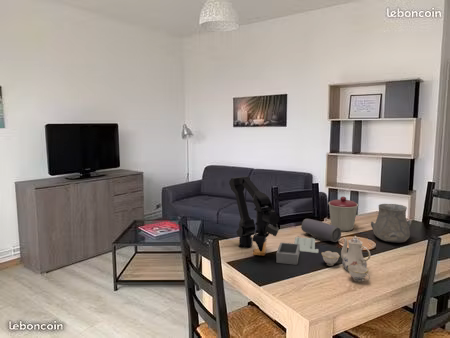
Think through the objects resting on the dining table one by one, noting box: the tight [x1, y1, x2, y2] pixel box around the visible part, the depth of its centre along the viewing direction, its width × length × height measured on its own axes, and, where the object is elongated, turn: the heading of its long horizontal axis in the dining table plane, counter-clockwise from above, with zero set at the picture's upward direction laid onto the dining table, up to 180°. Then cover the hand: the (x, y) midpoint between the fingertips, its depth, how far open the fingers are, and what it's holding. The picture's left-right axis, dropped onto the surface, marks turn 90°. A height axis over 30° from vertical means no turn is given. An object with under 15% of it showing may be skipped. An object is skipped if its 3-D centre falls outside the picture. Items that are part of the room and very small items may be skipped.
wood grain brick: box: [252, 240, 267, 257], centre depth 175 cm, size 6×5×7 cm
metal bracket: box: [293, 236, 319, 254], centre depth 185 cm, size 14×6×15 cm
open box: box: [275, 242, 301, 266], centre depth 171 cm, size 10×15×5 cm, turn 163°
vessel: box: [370, 203, 412, 244], centre depth 193 cm, size 22×22×20 cm
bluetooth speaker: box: [300, 218, 342, 243], centre depth 199 cm, size 23×9×10 cm, turn 35°
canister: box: [327, 196, 359, 232], centre depth 215 cm, size 18×18×21 cm
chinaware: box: [320, 235, 372, 282], centre depth 155 cm, size 28×17×17 cm, turn 28°
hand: (261, 249), depth 175 cm, fingers closed on wood grain brick, 5 cm apart
